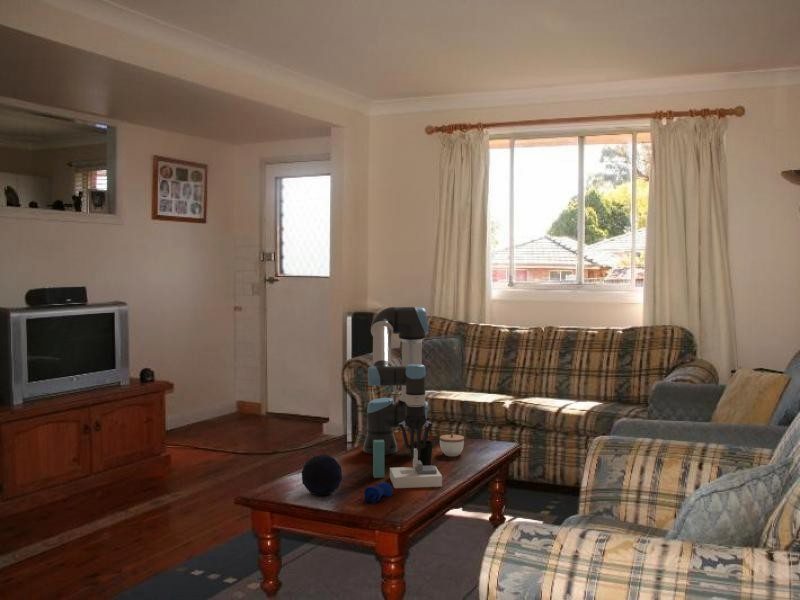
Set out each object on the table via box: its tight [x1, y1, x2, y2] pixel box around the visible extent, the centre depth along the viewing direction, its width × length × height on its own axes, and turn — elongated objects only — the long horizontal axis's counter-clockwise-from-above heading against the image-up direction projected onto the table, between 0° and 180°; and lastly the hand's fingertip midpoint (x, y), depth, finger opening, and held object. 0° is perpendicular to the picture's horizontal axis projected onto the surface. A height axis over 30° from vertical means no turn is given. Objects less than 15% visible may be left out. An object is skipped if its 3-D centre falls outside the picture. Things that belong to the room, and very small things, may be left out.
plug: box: [372, 440, 385, 479], centre depth 309 cm, size 4×4×14 cm
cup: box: [414, 439, 434, 466], centre depth 315 cm, size 8×8×12 cm
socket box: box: [389, 465, 443, 489], centre depth 301 cm, size 14×18×4 cm
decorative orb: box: [301, 454, 343, 497], centre depth 285 cm, size 14×15×15 cm
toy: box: [363, 481, 394, 506], centre depth 281 cm, size 7×6×15 cm
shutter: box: [415, 460, 437, 474], centre depth 301 cm, size 7×7×4 cm
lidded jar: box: [439, 432, 465, 457], centre depth 343 cm, size 11×11×9 cm
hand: (415, 466), depth 301 cm, fingers closed
